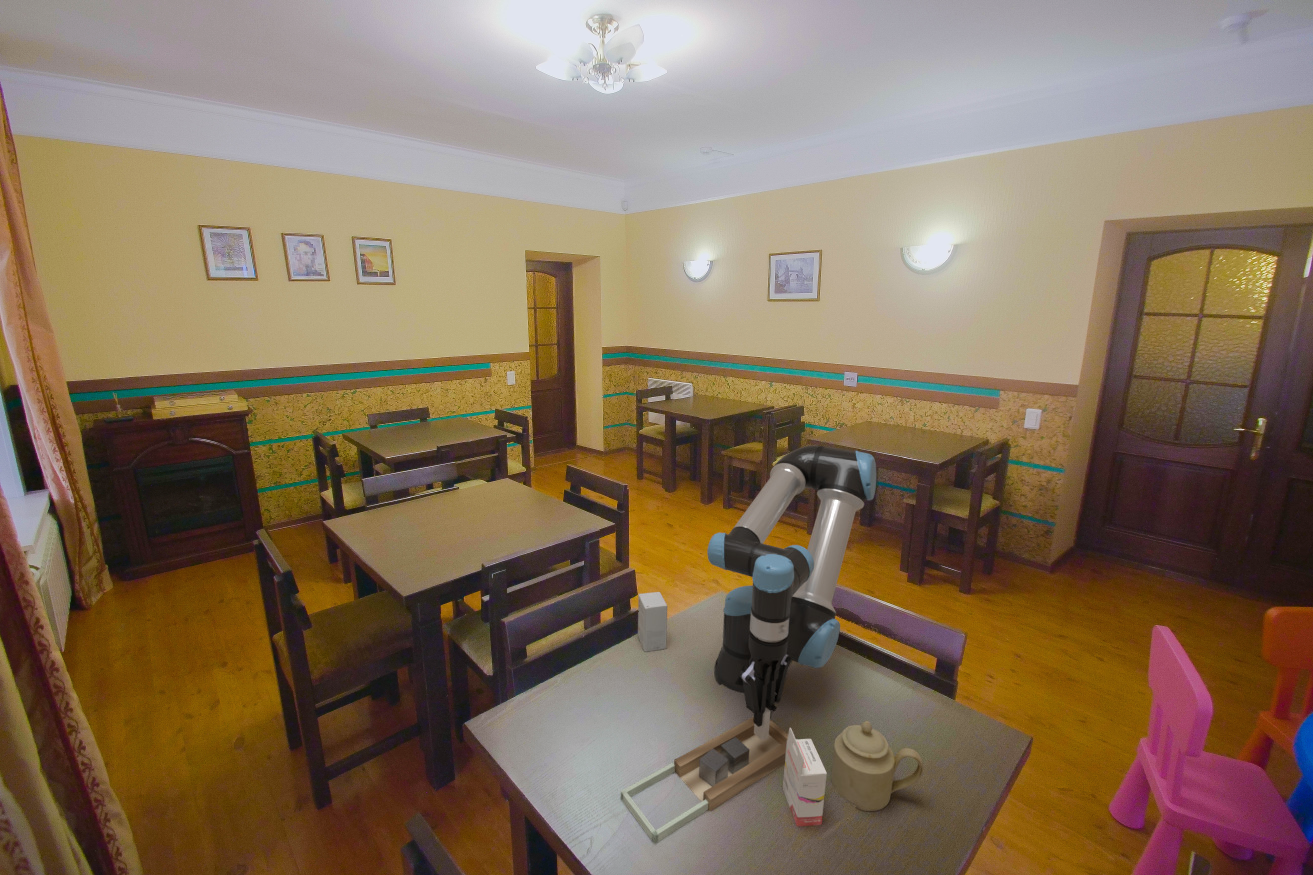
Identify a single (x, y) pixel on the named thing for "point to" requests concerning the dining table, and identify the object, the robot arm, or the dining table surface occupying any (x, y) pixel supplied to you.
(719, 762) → the chip
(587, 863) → the dining table surface
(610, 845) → the dining table surface
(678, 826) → the tray
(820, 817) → the ink cartridge box
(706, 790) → the slot board
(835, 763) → the sugar bowl
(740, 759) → the chip
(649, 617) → the small box
